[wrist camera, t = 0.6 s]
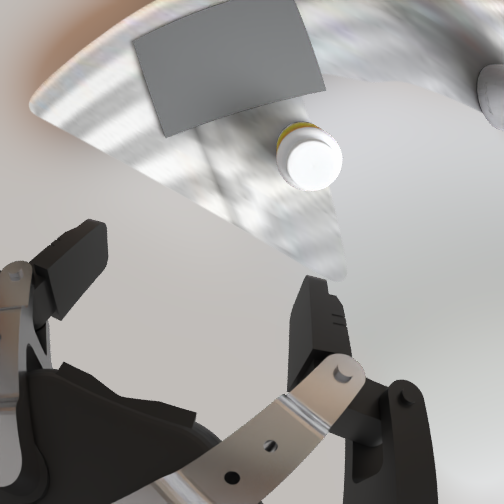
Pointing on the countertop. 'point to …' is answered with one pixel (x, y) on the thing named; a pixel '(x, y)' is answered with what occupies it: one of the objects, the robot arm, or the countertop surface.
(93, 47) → the countertop surface
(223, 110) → the mat
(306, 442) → the robot arm
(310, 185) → the supplement bottle
